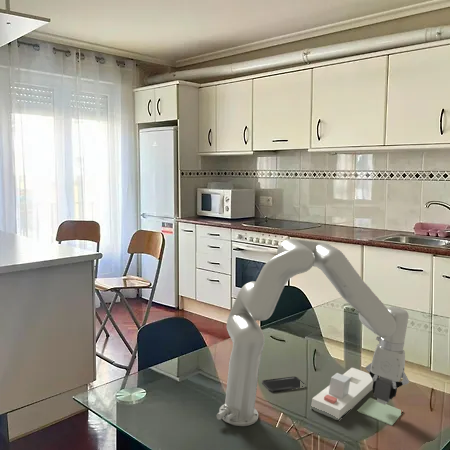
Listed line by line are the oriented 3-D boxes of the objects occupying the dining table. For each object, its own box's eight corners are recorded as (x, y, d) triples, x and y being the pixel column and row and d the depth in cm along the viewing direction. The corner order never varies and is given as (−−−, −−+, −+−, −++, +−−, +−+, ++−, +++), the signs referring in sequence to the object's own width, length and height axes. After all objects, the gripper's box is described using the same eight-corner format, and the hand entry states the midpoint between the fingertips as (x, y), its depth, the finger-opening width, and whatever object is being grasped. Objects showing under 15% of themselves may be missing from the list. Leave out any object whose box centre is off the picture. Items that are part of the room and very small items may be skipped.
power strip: (338, 421, 163) (340, 407, 162) (310, 409, 169) (312, 395, 168) (375, 386, 191) (377, 374, 190) (350, 376, 196) (352, 365, 195)
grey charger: (341, 403, 170) (344, 382, 169) (327, 398, 173) (330, 377, 172) (347, 398, 174) (350, 377, 173) (334, 393, 177) (337, 372, 176)
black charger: (387, 407, 168) (390, 385, 167) (372, 401, 171) (376, 380, 170) (392, 401, 172) (395, 380, 171) (377, 396, 175) (381, 375, 174)
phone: (261, 380, 184) (295, 376, 191) (260, 383, 185) (295, 378, 191) (271, 391, 177) (307, 386, 184) (271, 394, 178) (306, 389, 184)
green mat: (391, 425, 164) (392, 424, 164) (357, 411, 171) (357, 410, 171) (403, 412, 174) (403, 410, 174) (369, 398, 181) (370, 397, 181)
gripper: (363, 339, 170) (355, 389, 173) (414, 356, 160) (405, 408, 163) (371, 333, 176) (363, 381, 179) (420, 349, 166) (412, 400, 169)
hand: (383, 394), depth 171 cm, fingers closed on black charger, 5 cm apart
